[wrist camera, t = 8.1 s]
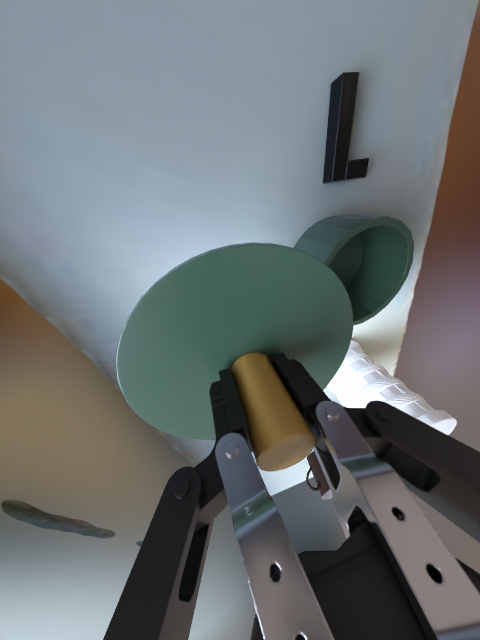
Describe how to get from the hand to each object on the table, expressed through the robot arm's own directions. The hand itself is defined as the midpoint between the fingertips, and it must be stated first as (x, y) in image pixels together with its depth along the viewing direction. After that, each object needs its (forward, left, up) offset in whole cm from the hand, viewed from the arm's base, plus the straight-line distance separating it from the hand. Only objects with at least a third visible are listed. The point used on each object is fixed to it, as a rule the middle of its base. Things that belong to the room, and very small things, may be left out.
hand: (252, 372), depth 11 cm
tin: (+1, +18, -18) cm, 25 cm away
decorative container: (+23, +23, -18) cm, 37 cm away
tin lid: (0, 0, -1) cm, 1 cm away
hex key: (-14, +18, -18) cm, 29 cm away
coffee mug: (+65, +21, -18) cm, 71 cm away
